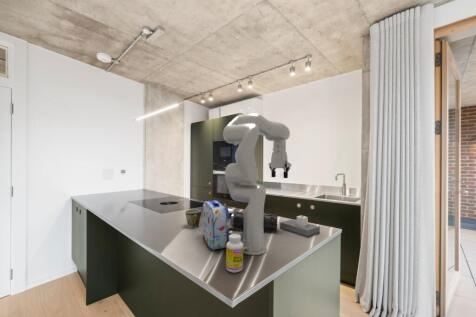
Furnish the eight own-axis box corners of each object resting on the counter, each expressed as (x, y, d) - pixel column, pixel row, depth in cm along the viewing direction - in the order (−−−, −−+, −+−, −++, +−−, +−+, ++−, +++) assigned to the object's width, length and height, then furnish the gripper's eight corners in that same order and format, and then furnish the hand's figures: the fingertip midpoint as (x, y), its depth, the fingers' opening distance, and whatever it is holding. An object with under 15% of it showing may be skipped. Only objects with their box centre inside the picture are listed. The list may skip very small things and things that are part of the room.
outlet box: (307, 237, 119) (307, 230, 119) (280, 228, 134) (280, 222, 134) (319, 233, 126) (319, 226, 126) (292, 225, 142) (292, 219, 142)
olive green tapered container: (183, 225, 140) (183, 210, 140) (198, 223, 144) (198, 208, 144) (187, 231, 128) (188, 214, 128) (204, 229, 133) (204, 213, 133)
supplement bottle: (232, 275, 79) (232, 240, 79) (222, 267, 84) (223, 235, 85) (246, 269, 83) (246, 236, 83) (236, 263, 88) (236, 232, 89)
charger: (303, 231, 125) (303, 217, 125) (296, 229, 129) (296, 216, 129) (307, 230, 128) (307, 216, 128) (301, 228, 132) (301, 215, 132)
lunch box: (234, 252, 99) (234, 204, 99) (212, 255, 95) (212, 206, 96) (218, 233, 125) (218, 195, 125) (200, 235, 121) (200, 196, 121)
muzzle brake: (277, 234, 124) (277, 216, 124) (230, 230, 129) (230, 213, 129) (277, 229, 134) (277, 212, 134) (233, 226, 139) (233, 210, 139)
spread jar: (227, 231, 128) (227, 212, 128) (213, 228, 134) (213, 209, 135) (238, 226, 138) (239, 208, 138) (224, 223, 144) (225, 206, 145)
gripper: (265, 150, 136) (265, 177, 136) (286, 148, 123) (286, 178, 122) (273, 150, 141) (273, 176, 141) (294, 149, 127) (294, 178, 127)
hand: (279, 177), depth 132 cm, fingers open, 9 cm apart
